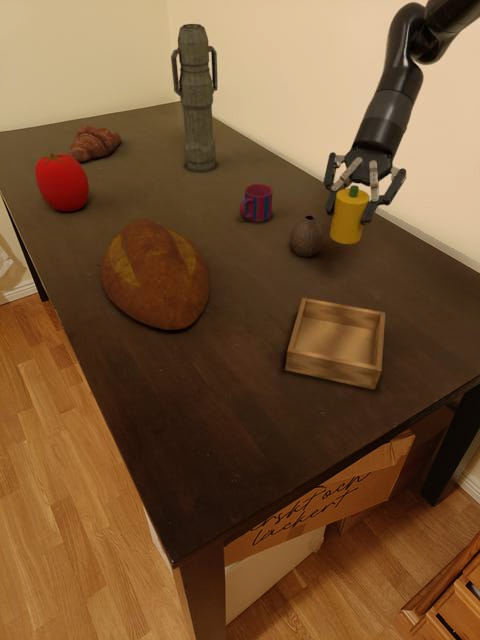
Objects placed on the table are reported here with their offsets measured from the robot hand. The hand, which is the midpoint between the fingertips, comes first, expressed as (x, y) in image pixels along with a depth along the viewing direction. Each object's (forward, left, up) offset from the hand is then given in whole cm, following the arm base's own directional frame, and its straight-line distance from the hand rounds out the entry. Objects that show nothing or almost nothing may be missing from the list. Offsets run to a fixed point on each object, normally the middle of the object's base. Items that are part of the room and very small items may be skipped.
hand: (345, 218), depth 75 cm
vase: (+8, -12, -17) cm, 22 cm away
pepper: (0, -2, -4) cm, 5 cm away
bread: (+35, +8, -17) cm, 39 cm away
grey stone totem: (+46, -48, -17) cm, 68 cm away
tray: (-2, +16, -16) cm, 23 cm away
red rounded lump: (+70, -15, -17) cm, 73 cm away
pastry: (+81, -48, -17) cm, 95 cm away
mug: (+23, -23, -17) cm, 36 cm away
